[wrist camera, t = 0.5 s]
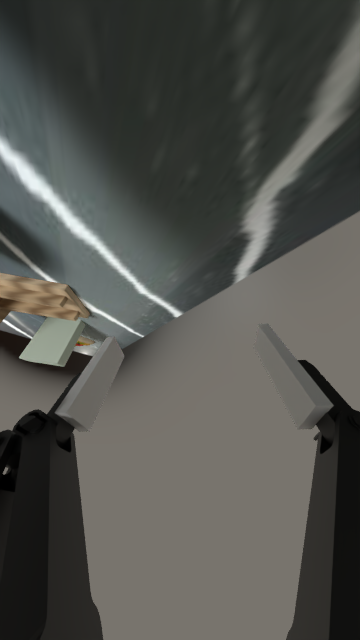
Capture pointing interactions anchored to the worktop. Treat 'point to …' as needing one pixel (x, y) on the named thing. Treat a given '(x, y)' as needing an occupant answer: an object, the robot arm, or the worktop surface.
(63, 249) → the worktop surface
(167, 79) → the worktop surface
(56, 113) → the worktop surface
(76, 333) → the pale green block
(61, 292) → the track
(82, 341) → the pizza slice
